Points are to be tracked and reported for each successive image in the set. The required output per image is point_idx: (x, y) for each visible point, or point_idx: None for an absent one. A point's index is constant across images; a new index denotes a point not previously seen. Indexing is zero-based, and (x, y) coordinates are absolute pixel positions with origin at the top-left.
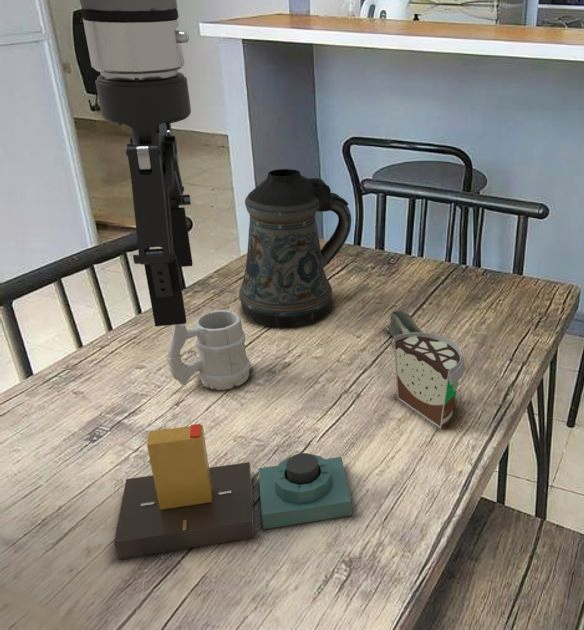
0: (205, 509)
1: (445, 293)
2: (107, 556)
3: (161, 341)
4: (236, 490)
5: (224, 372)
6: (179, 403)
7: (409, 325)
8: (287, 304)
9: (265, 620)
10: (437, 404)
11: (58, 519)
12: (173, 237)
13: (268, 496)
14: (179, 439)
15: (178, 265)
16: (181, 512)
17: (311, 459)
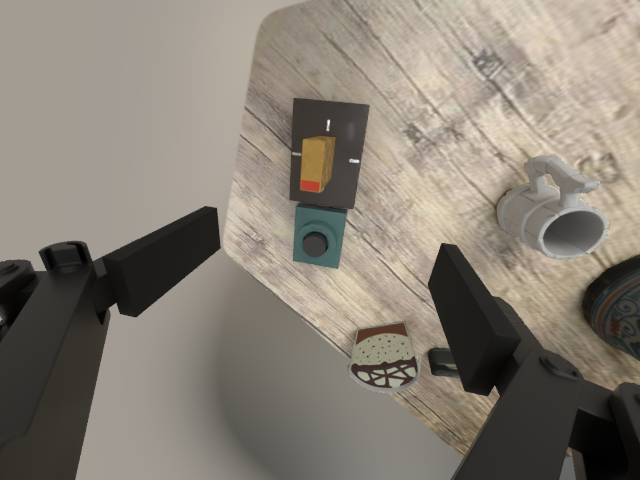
0: None
1: None
2: (304, 90)
3: None
4: (323, 194)
5: (507, 211)
6: (499, 156)
7: None
8: (614, 304)
9: (232, 191)
10: (361, 341)
11: (361, 38)
12: (453, 301)
13: (312, 214)
14: (302, 170)
15: (435, 265)
16: None
17: (315, 254)
